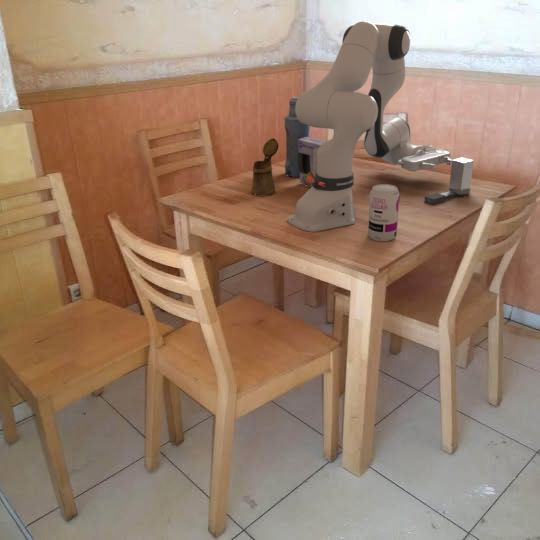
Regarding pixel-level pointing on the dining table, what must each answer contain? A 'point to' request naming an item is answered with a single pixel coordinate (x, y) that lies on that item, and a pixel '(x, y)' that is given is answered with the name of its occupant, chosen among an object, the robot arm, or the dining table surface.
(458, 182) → the tall grey pillar block
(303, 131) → the bottle
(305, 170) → the cake pan box
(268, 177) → the wooden mug
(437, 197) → the ratchet
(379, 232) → the supplement can
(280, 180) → the dining table surface
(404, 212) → the dining table surface
